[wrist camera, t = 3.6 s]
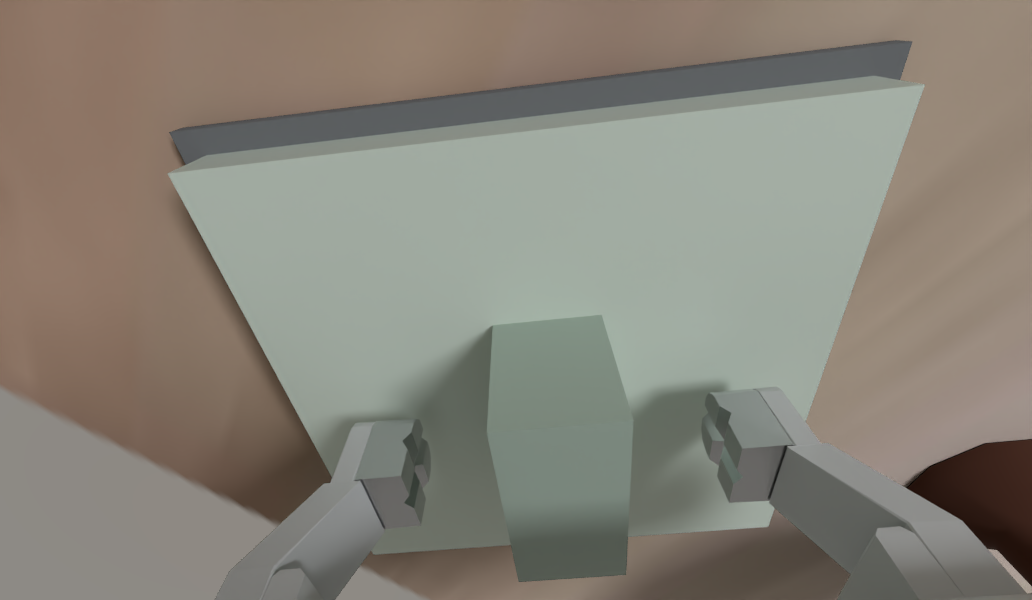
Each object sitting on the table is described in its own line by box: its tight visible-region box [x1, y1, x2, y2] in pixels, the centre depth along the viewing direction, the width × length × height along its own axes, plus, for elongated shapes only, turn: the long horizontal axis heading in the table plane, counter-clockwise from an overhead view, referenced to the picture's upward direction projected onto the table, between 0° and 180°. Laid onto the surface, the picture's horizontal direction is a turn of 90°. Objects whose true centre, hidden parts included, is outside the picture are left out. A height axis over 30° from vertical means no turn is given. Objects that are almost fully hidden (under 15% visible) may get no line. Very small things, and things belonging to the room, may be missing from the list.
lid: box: [168, 76, 925, 582], centre depth 10 cm, size 13×13×4 cm
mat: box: [169, 40, 912, 165], centre depth 12 cm, size 14×14×1 cm
